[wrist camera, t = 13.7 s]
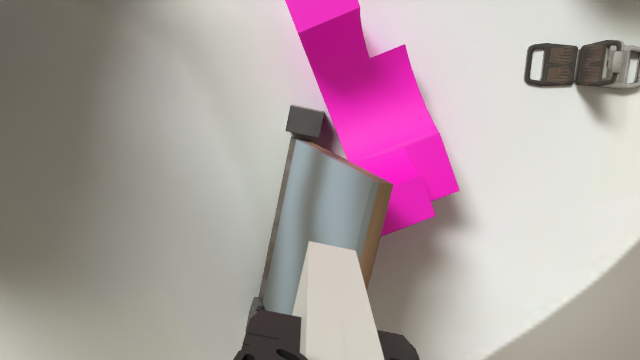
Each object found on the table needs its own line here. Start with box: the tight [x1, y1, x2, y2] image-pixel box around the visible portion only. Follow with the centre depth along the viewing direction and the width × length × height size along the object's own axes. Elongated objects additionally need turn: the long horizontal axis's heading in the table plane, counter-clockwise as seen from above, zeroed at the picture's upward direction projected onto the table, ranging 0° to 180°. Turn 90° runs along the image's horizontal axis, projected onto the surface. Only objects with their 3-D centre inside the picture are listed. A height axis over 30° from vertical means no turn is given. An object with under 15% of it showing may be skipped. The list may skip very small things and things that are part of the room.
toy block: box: [285, 0, 460, 237], centre depth 29 cm, size 15×6×8 cm, turn 22°
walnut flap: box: [259, 137, 393, 315], centre depth 28 cm, size 13×13×2 cm
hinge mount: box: [246, 105, 324, 331], centre depth 33 cm, size 2×18×2 cm, turn 168°
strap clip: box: [524, 40, 640, 89], centre depth 30 cm, size 8×3×4 cm, turn 88°
